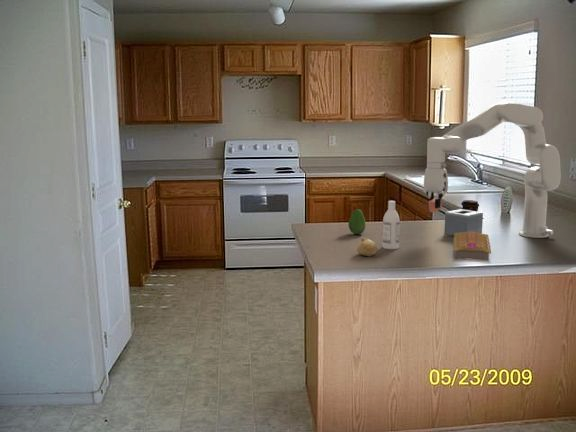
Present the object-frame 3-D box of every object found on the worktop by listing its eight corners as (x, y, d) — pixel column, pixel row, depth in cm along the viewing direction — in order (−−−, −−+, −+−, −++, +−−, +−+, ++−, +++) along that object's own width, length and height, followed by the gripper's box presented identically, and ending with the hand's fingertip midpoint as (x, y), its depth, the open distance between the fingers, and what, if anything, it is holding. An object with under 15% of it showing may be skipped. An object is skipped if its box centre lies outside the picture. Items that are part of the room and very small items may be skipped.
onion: (374, 252, 248) (375, 235, 247) (378, 257, 240) (378, 240, 239) (355, 253, 248) (355, 236, 246) (358, 257, 240) (358, 240, 239)
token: (442, 207, 269) (440, 197, 267) (434, 212, 265) (432, 202, 264) (437, 206, 271) (436, 196, 269) (429, 212, 267) (428, 201, 266)
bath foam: (396, 245, 260) (397, 199, 256) (400, 249, 253) (402, 202, 250) (380, 246, 259) (381, 199, 256) (384, 249, 252) (385, 202, 249)
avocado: (366, 233, 286) (367, 208, 283) (364, 236, 278) (364, 210, 276) (349, 232, 288) (350, 207, 286) (346, 235, 280) (347, 210, 278)
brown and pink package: (490, 261, 234) (491, 246, 233) (452, 259, 238) (453, 244, 237) (487, 242, 268) (488, 228, 266) (453, 240, 271) (454, 227, 270)
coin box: (481, 235, 279) (483, 212, 277) (466, 239, 271) (468, 215, 269) (459, 231, 288) (460, 209, 286) (444, 235, 280) (445, 211, 278)
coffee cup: (458, 227, 298) (459, 201, 296) (461, 224, 306) (463, 199, 303) (476, 229, 294) (477, 202, 292) (479, 226, 302) (480, 200, 299)
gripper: (456, 166, 260) (455, 208, 264) (426, 164, 272) (425, 204, 276) (446, 167, 255) (444, 210, 259) (415, 165, 267) (414, 206, 271)
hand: (434, 207), depth 267 cm, fingers closed on token, 2 cm apart
